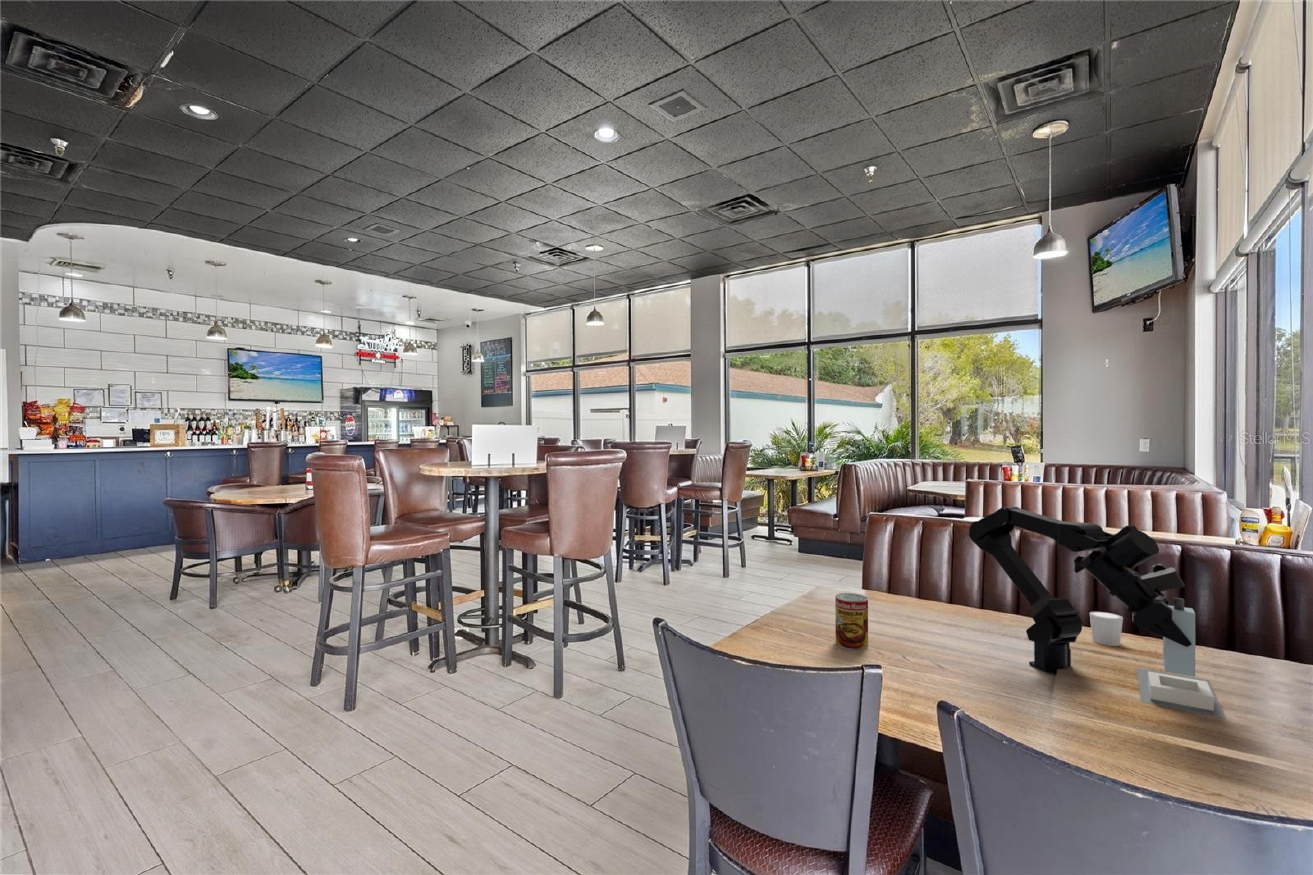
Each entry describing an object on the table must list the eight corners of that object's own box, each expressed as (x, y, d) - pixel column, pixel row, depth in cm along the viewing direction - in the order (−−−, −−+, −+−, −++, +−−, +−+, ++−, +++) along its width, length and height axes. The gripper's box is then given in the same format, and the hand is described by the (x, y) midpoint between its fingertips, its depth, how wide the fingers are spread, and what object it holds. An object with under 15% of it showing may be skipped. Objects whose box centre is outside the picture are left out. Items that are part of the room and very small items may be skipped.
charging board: (1226, 724, 109) (1226, 718, 109) (1141, 707, 116) (1141, 701, 116) (1209, 685, 127) (1209, 680, 127) (1136, 672, 134) (1136, 667, 134)
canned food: (834, 647, 150) (833, 599, 150) (837, 638, 157) (836, 592, 157) (867, 651, 147) (867, 602, 147) (869, 641, 154) (868, 594, 154)
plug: (1165, 671, 117) (1165, 599, 117) (1163, 664, 121) (1163, 594, 121) (1195, 676, 114) (1195, 603, 115) (1192, 669, 118) (1192, 598, 118)
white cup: (1129, 647, 150) (1128, 619, 150) (1097, 645, 151) (1097, 617, 151) (1114, 638, 156) (1113, 611, 156) (1084, 637, 158) (1084, 610, 158)
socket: (1150, 701, 116) (1150, 685, 116) (1148, 685, 124) (1147, 671, 124) (1213, 713, 111) (1213, 697, 111) (1207, 697, 118) (1206, 681, 118)
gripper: (1155, 560, 112) (1237, 630, 106) (1149, 546, 128) (1220, 606, 121) (1103, 596, 117) (1178, 665, 111) (1102, 578, 132) (1169, 638, 126)
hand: (1188, 642), depth 117 cm, fingers closed on plug, 4 cm apart
